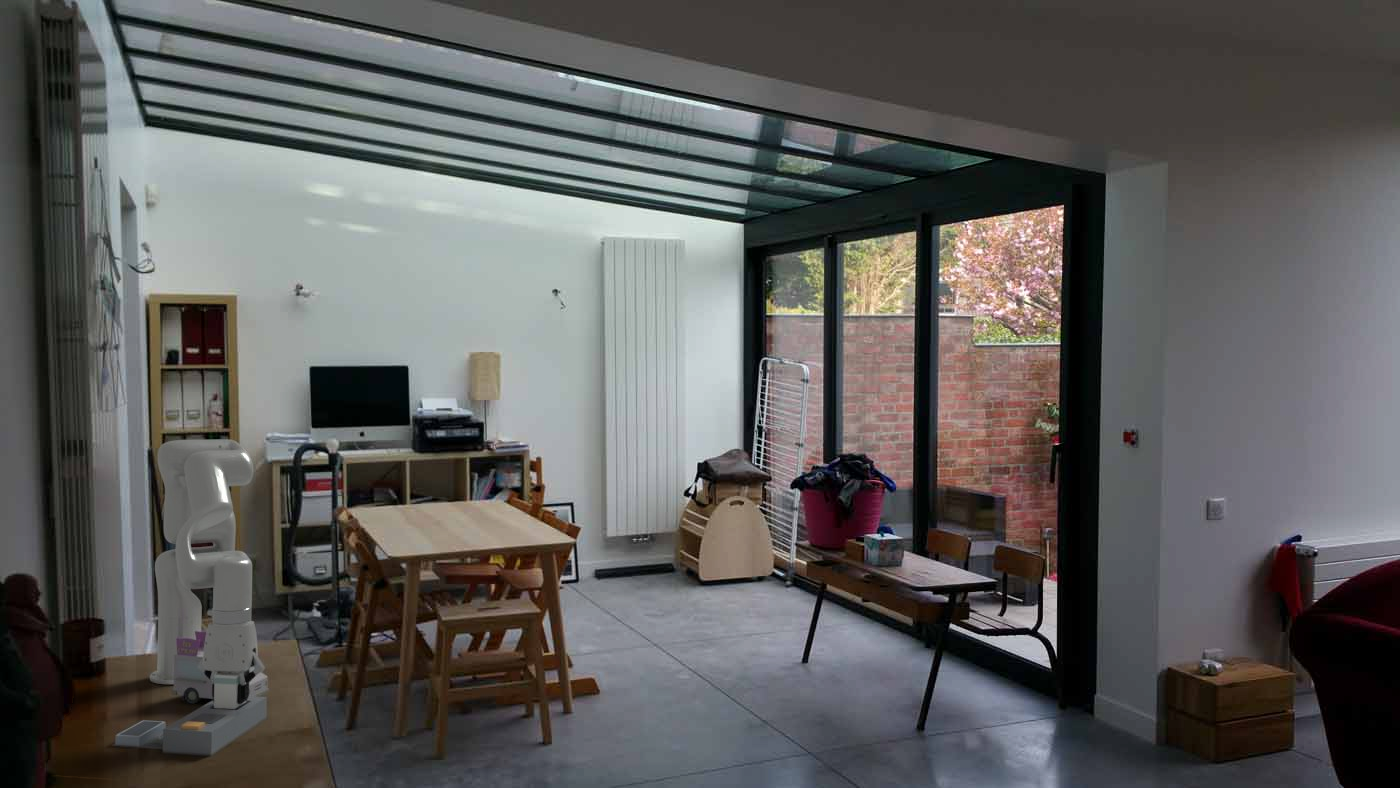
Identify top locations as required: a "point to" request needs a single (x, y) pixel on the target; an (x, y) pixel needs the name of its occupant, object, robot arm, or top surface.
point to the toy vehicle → (194, 680)
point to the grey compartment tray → (213, 727)
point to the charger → (226, 690)
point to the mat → (150, 743)
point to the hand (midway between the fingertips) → (230, 700)
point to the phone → (140, 733)
